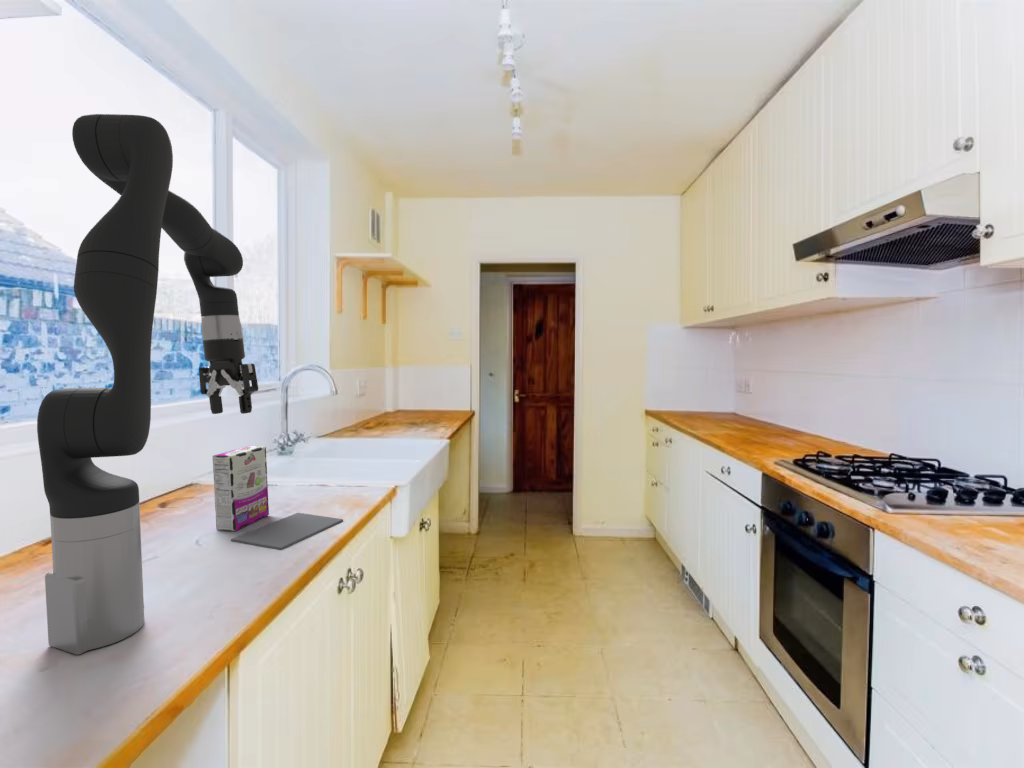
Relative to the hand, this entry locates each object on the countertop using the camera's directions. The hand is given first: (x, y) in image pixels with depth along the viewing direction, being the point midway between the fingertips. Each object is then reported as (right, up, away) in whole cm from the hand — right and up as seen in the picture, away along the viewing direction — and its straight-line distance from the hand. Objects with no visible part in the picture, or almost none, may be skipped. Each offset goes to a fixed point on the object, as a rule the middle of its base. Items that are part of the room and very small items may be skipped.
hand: (231, 413), depth 109 cm
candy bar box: (0, -25, +4) cm, 25 cm away
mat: (+13, -25, -1) cm, 28 cm away
